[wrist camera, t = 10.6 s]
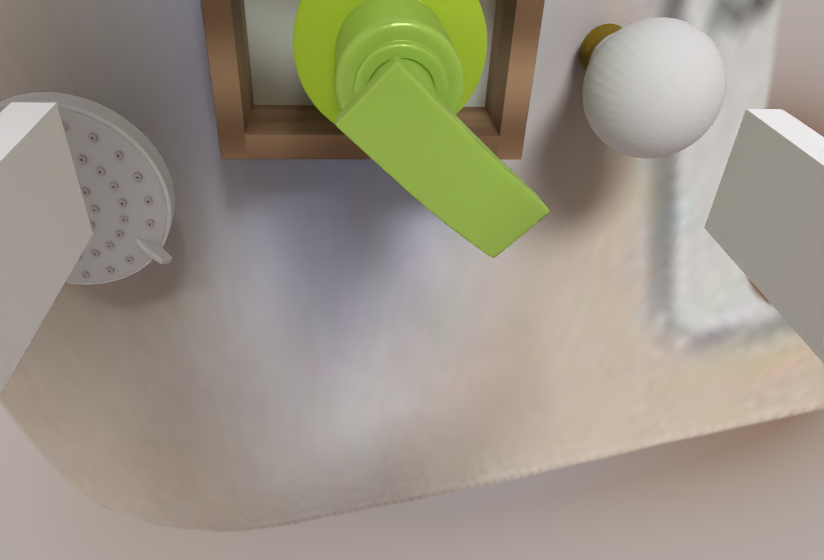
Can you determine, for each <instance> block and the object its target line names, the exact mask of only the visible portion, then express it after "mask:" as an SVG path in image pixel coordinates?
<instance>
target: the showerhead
mask: <svg viewBox="0 0 824 560" xmlns="http://www.w3.org/2000/svg"><path fill="white" fill-rule="evenodd" d="M11 102H36V103H57V106H58V110H59V113H60V117H61V121H62V124H63V128H64V131H65V135H66V139H67V142H68V146H69V149H70V153H71V157H72V160H73V164H74V167H75V171H76V175H77V178H78V182H79V185H80V189H81V193H82V196H83V200H84V203H85V207H86V211H87V214H88V218H89V221H90V225H91V228H92V232H93V235H92V237H91V238H90V240H89V242H88V244H87V245H86V247H85V249H84V251H83V252H82V254H81V256H80V258H79V259H78V261H77V263H76V265H75V266H74V268H73V270H72V272H71V273H70V275H69V277H68V278H67V280H66V282H65V283H69V284H78V285H92V284H104V283H109V282H113V281H117V280H121V279H124V278H126V277H128V276H131V275H133V274H135V273H137V272H138V271H140V270H141V269H143V268H144V267H146V266H147V265H148V264H149V263H150V262H151V261H153V259H154V260H155V261H157V262H158V263H159V264H167V263H170V261H171V260H172V257H171V255H170V254H169V253H168V252H167V251H166V250H165V249H164V248H163V246H164V244H165V242H166V240H167V237H168V234H169V231H170V228H171V225H172V221H173V218H174V214H175V206H176V200H175V189H174V185H173V181H172V177H171V175H170V172H169V169H168V167H167V165H166V163H165V161H164V159H163V158H162V156H161V154H160V153H159V151H158V150H157V149H156V147H155V146H154V145H153V143H152V142H151V141H150V140H149V139H148V138H147V136H145V135H144V134H143V133H142V132H141V131H140V130H139V129H138V128H137V127H136V126H135V125H133V124H132V123H131V122H130V121H128V120H127V119H126V118H124V117H123V116H121V115H120V114H118V113H116V112H115V111H113V110H111V109H109V108H107V107H105V106H103V105H101V104H99V103H97V102H94V101H92V100H89V99H86V98H82V97H79V96H75V95H71V94H66V93H58V92H31V93H24V94H19V95H15V96H12V97H9V98H7V99H4V100H2V101H0V112H1V111H2V110H3V109H4V108H6V107H7V106H8V105H9V104H10V103H11Z"/></svg>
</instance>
